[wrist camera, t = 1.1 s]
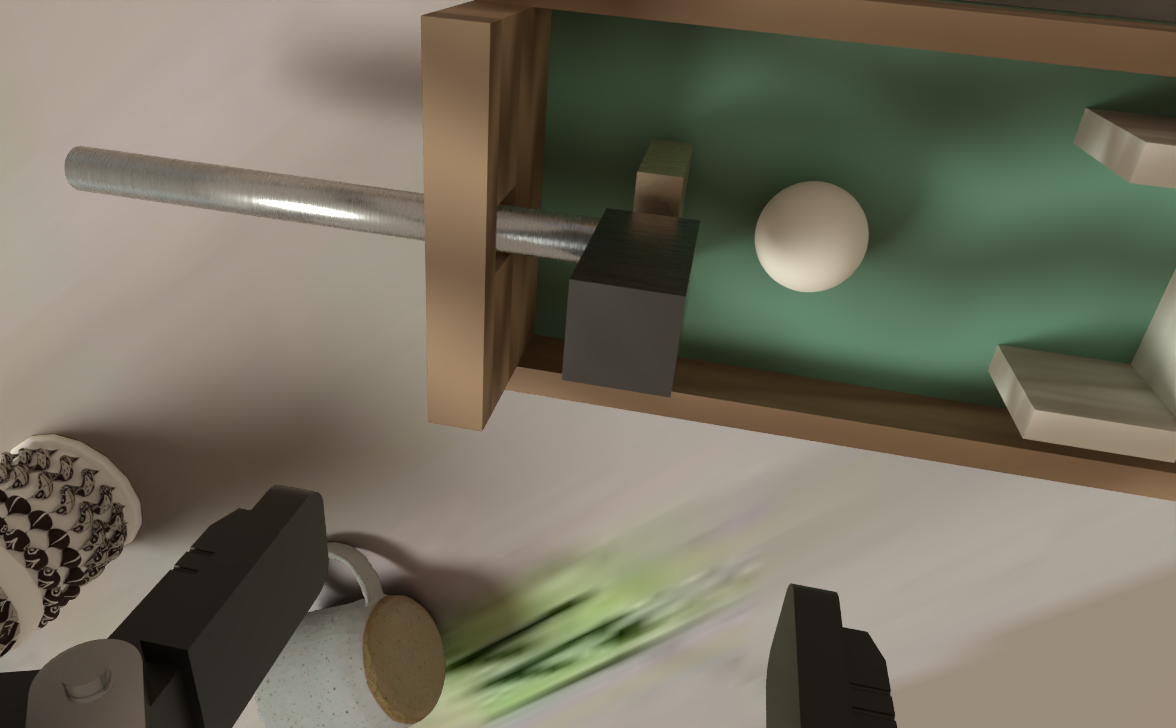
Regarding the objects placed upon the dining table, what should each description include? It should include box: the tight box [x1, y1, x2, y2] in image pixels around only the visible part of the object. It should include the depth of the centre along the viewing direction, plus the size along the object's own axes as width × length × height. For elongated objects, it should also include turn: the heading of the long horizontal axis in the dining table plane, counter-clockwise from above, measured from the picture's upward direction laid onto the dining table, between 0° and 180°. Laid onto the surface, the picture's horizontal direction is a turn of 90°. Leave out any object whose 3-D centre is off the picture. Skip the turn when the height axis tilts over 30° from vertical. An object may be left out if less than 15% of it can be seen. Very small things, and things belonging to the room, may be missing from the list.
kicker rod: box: [65, 139, 700, 398], centre depth 28 cm, size 5×22×12 cm, turn 85°
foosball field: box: [421, 0, 1176, 501], centre depth 28 cm, size 16×28×9 cm, turn 85°
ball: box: [755, 181, 869, 292], centre depth 30 cm, size 4×4×4 cm
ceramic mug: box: [255, 542, 445, 728], centre depth 45 cm, size 11×8×8 cm
